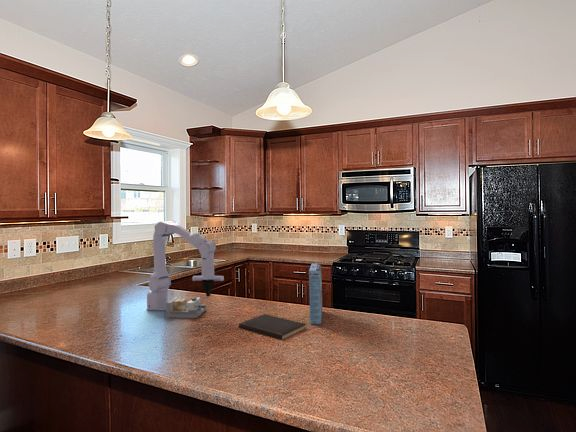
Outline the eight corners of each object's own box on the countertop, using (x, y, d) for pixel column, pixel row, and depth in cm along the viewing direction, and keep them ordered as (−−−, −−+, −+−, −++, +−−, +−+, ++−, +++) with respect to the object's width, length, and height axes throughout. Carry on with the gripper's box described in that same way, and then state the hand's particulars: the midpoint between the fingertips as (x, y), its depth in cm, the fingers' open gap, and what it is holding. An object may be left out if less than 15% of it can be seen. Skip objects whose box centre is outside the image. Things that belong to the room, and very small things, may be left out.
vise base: (165, 317, 159) (164, 303, 159) (176, 309, 171) (175, 296, 171) (196, 318, 158) (196, 303, 158) (205, 310, 170) (205, 297, 170)
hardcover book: (264, 319, 157) (264, 313, 157) (306, 329, 143) (306, 323, 143) (238, 328, 144) (238, 323, 144) (281, 341, 130) (281, 335, 130)
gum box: (321, 324, 147) (320, 270, 146) (308, 324, 147) (308, 270, 147) (322, 311, 166) (322, 263, 165) (311, 310, 167) (311, 263, 166)
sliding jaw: (187, 312, 160) (187, 300, 160) (194, 307, 169) (194, 295, 169) (193, 313, 160) (193, 300, 159) (200, 307, 168) (200, 295, 168)
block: (174, 311, 163) (174, 301, 162) (178, 308, 167) (178, 298, 167) (182, 312, 162) (182, 301, 162) (186, 309, 167) (186, 298, 167)
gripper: (189, 268, 160) (190, 297, 160) (220, 268, 158) (221, 298, 159) (195, 265, 167) (195, 294, 167) (224, 266, 165) (225, 294, 166)
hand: (208, 295), depth 163 cm, fingers closed
